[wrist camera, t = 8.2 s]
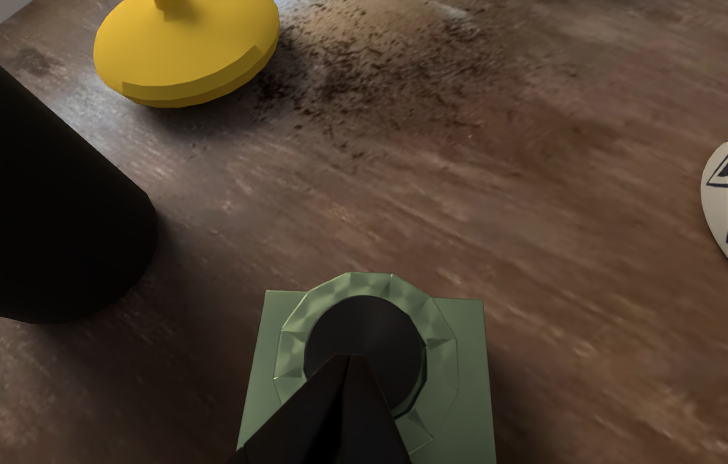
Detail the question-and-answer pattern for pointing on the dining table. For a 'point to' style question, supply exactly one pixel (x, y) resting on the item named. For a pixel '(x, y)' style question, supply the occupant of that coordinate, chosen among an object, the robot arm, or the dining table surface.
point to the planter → (717, 195)
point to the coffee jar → (63, 217)
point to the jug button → (369, 342)
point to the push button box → (435, 382)
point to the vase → (184, 48)
